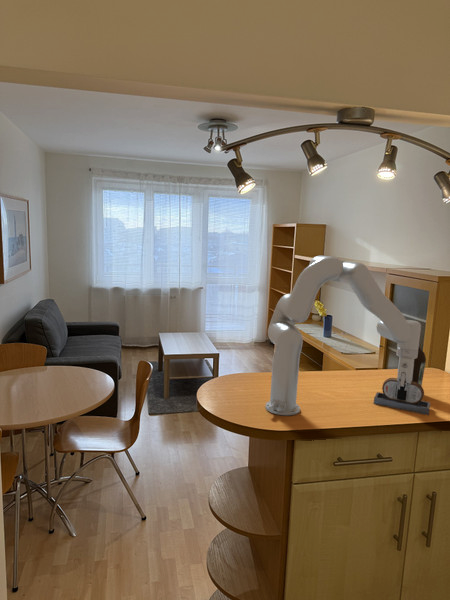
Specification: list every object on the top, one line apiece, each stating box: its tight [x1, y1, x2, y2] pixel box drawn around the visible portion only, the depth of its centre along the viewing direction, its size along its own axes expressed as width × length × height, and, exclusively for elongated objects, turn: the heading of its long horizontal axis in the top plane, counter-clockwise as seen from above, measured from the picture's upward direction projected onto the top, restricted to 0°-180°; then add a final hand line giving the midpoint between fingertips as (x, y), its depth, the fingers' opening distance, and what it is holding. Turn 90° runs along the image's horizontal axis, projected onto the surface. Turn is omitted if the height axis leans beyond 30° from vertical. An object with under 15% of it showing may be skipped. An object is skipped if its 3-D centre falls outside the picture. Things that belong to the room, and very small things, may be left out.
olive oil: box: [397, 346, 427, 387], centre depth 181 cm, size 11×11×25 cm
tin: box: [381, 377, 425, 404], centre depth 166 cm, size 15×3×8 cm, turn 62°
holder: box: [373, 391, 431, 416], centre depth 167 cm, size 8×20×2 cm, turn 62°
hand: (401, 398), depth 166 cm, fingers closed on tin, 2 cm apart
